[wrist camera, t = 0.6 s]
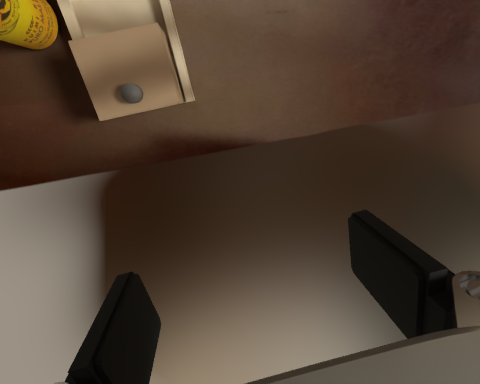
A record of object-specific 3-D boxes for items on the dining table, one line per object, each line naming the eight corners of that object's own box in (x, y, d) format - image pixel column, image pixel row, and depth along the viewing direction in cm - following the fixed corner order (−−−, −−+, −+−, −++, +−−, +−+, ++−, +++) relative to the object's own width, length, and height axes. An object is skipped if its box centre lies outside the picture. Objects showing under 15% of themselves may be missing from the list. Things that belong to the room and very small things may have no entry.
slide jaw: (93, 51, 31) (61, 38, 24) (166, 36, 31) (154, 19, 24) (117, 117, 34) (95, 122, 27) (184, 102, 34) (178, 103, 27)
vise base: (38, -71, 27) (-26, -134, 20) (146, -92, 28) (123, -161, 20) (111, 118, 35) (84, 124, 27) (195, 100, 35) (191, 100, 28)
